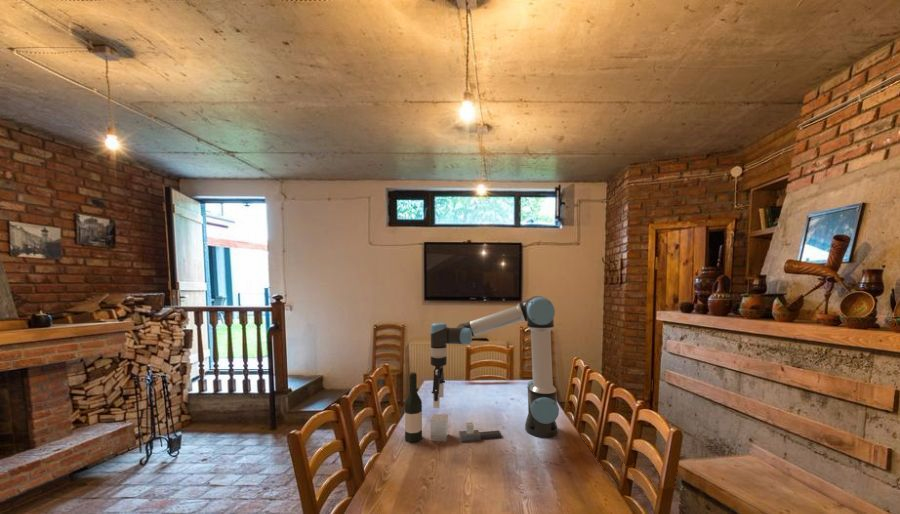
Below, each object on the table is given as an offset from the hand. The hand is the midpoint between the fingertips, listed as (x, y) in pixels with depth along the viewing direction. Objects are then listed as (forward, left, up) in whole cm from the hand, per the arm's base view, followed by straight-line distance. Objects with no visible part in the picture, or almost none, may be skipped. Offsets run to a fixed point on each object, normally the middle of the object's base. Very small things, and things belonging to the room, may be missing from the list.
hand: (438, 402), depth 153 cm
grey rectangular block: (0, 0, -16) cm, 16 cm away
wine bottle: (+12, +2, -16) cm, 20 cm away
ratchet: (-19, -1, -16) cm, 25 cm away
